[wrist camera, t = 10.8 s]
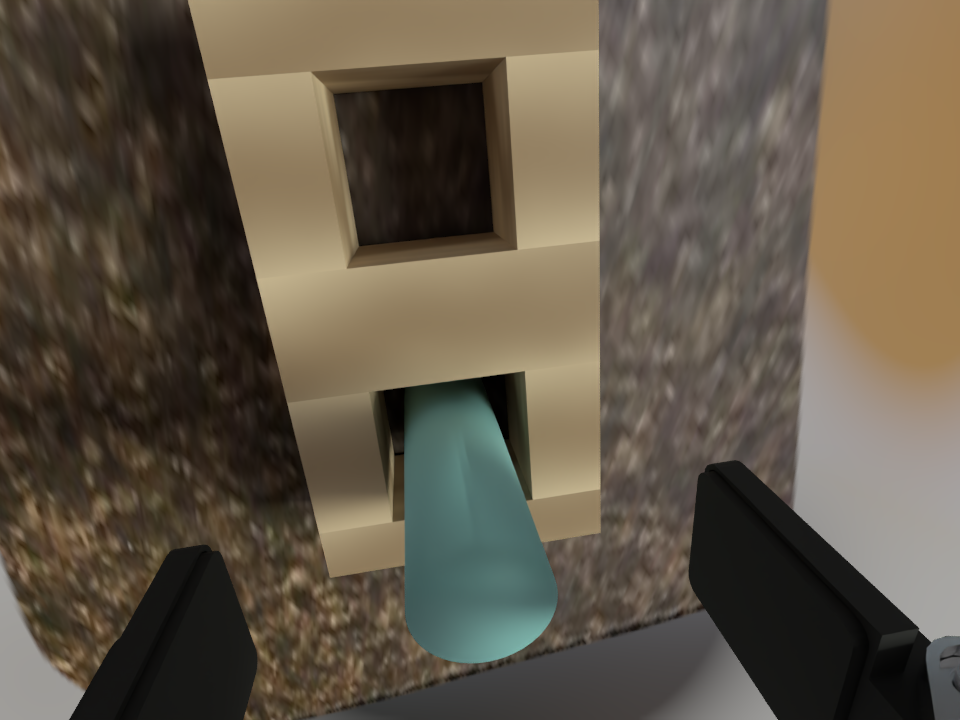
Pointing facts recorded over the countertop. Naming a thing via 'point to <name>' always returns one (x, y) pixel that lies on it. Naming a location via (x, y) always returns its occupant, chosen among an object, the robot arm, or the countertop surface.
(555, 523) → the hole block
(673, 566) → the countertop surface
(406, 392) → the peg
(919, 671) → the robot arm
